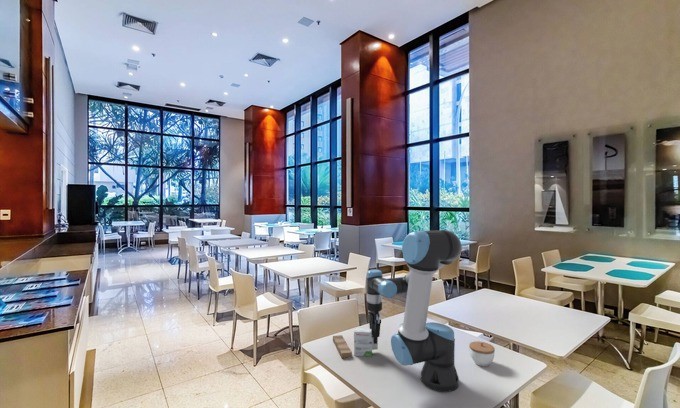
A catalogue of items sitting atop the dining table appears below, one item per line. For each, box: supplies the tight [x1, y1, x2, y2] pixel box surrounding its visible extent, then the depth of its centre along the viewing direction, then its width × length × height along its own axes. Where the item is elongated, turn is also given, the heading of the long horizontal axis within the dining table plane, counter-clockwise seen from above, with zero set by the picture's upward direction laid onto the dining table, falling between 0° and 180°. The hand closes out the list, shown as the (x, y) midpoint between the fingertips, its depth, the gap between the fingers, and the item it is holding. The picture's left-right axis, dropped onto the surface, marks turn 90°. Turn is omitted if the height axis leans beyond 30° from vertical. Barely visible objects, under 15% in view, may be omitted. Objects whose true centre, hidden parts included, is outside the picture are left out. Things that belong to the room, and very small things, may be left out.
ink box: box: [353, 327, 373, 357], centre depth 157 cm, size 9×5×12 cm, turn 82°
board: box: [332, 334, 353, 360], centre depth 162 cm, size 20×5×2 cm, turn 13°
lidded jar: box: [468, 340, 496, 367], centre depth 148 cm, size 11×11×9 cm
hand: (374, 348), depth 159 cm, fingers closed
